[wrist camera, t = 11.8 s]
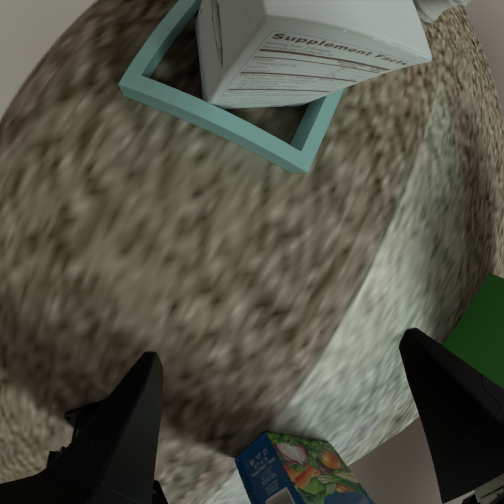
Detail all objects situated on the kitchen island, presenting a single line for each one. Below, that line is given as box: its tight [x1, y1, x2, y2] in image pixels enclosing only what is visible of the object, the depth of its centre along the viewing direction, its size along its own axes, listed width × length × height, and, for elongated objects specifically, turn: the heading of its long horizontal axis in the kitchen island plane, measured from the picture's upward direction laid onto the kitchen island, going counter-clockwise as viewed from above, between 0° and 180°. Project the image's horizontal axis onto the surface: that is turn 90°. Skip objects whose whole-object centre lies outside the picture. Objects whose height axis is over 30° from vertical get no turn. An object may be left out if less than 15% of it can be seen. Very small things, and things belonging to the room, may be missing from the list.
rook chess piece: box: [413, 0, 470, 23], centre depth 15 cm, size 4×4×8 cm
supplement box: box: [195, 0, 432, 109], centre depth 11 cm, size 7×7×13 cm
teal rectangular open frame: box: [118, 0, 344, 173], centre depth 15 cm, size 13×13×2 cm
